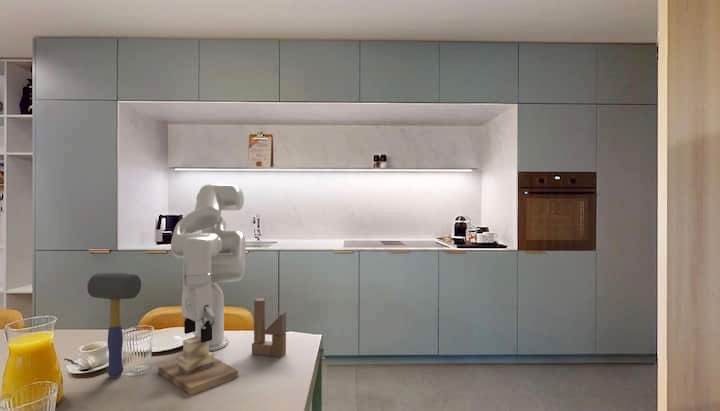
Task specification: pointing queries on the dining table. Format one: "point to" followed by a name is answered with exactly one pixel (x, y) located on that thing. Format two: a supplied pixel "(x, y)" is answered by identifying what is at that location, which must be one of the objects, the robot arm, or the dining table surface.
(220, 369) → the walnut board
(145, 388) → the dining table surface
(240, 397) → the dining table surface
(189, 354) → the block
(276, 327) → the wooden block
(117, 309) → the rubber mallet
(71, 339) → the dining table surface
